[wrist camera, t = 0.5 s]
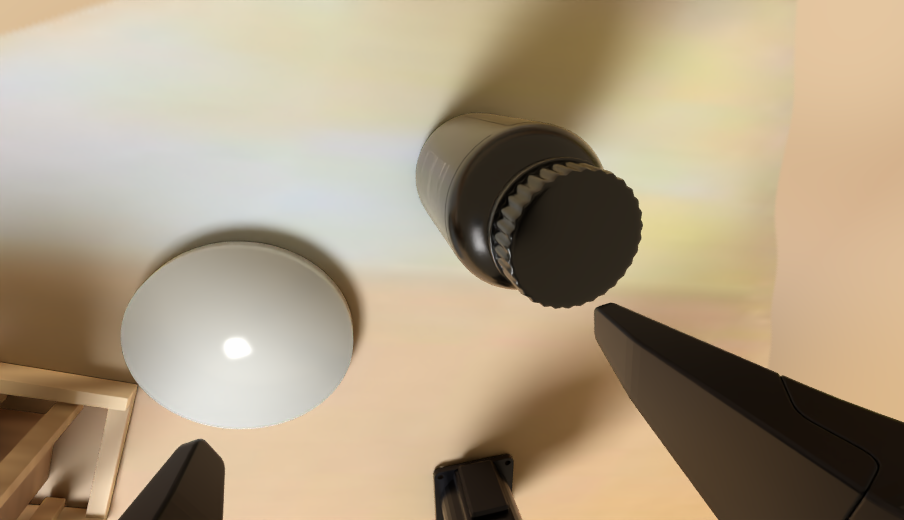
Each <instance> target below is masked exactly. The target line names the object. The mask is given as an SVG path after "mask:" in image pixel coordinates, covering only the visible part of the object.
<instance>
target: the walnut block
mask: <svg viewBox="0 0 904 520" xmlns="http://www.w3.org/2000/svg"><path fill="white" fill-rule="evenodd" d="M44 415H45V414H40V413H32V412H25V411H17V410H10V409H2V408H0V462H1V461H2V460H3V459H4V458H5V457H6V456H7V455H8V454H9V453H10V452H11V451H12V449H13V448H14V447H15V446H16V445H17V444H18V443H19V442H20V441H21V440H22V439H23V438H24V437H25V436H26V434H27V433H28V432H29V431H30V430H31V429H32V428H33V427H34V426H35V425H36V424H37V423H38V422H39V420H40V419H41V418H42V417H43V416H44ZM53 445H54V444H53ZM53 445H52V446H51V448H50V449H49V450H48V451H47V453H46V454H45V455H44V456H43V457H42V459H41V460H40V461H39V462H38V463H37V465H36V466H35V467H34V468H33V469H32V471H31V472H30V473H29V474H28V475H27V477H26V478H25V479H24V480H23V481H22V483H21V484H20V485H19V486H18V487H17V489H16V490H15V491H14V492H13V494H12V495H11V496H10V497H9V498H8V500H7V501H6V502H5V503H4V504H3V506H2V507H1V508H0V520H17V518H18V517H19V516H20V514H21V513H22V512H23V510H24V509H25V508H26V507H27V505H28V504H29V503H30V501H31V500H32V499H33V497H34V496H35V495H36V494H37V492H38V491H39V490H40V488H41V487H42V486H43V485H44V483H45V482H46V481H47V479H48V475H49V469H50V463H51V457H52V451H53Z"/></svg>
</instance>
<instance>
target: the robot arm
mask: <svg viewBox="0 0 904 520" xmlns="http://www.w3.org/2000/svg"><path fill="white" fill-rule="evenodd" d="M594 332H595V337H596V340H597V342H598V344H599V346H600V348H601V349H602V351H603V353H604V355H605V356H606V358H607V360H608V362H609V363H610V365H611V367H612V369H613V370H614V372H615V374H616V375H617V377H618V379H619V381H620V382H621V384H622V386H623V388H624V389H625V391H626V393H627V394H628V396H629V398H630V399H631V401H632V402H633V403H634V405H635V406H636V408H637V409H638V410H639V412H640V413H641V415H642V416H643V417H644V419H645V420H646V421H647V423H648V424H649V425H650V427H651V428H652V430H653V431H654V432H655V434H656V435H657V436H658V438H659V439H660V441H661V442H662V443H663V445H664V446H665V447H666V449H667V450H668V451H669V453H670V454H671V456H672V457H673V458H674V460H675V461H676V462H677V464H678V465H679V467H680V468H681V469H682V471H683V472H684V473H685V475H686V476H687V477H688V479H689V480H690V482H691V483H692V484H693V486H694V487H695V488H696V490H697V491H698V492H699V494H700V495H701V497H702V498H703V499H704V501H705V502H706V503H707V505H708V506H709V508H710V509H711V510H712V512H713V513H714V514H715V516H716V517H717V518H718V520H904V422H901V421H898V420H896V419H893V418H890V417H887V416H885V415H882V414H879V413H876V412H873V411H871V410H868V409H865V408H863V407H860V406H858V405H855V404H852V403H849V402H847V401H844V400H841V399H839V398H836V397H834V396H831V395H829V394H826V393H824V392H822V391H819V390H817V389H814V388H812V387H809V386H807V385H804V384H802V383H800V382H797V381H795V380H793V379H790V378H788V377H786V376H783V375H782V376H780V375H779V374H778V373H776V372H774V371H772V370H769V369H767V368H764V367H762V366H760V365H757V364H755V363H753V362H750V361H748V360H746V359H743V358H741V357H739V356H736V355H734V354H732V353H729V352H727V351H725V350H722V349H720V348H718V347H715V346H713V345H711V344H708V343H706V342H704V341H701V340H699V339H697V338H694V337H692V336H690V335H687V334H685V333H683V332H680V331H678V330H676V329H673V328H671V327H669V326H666V325H664V324H662V323H659V322H657V321H655V320H652V319H650V318H648V317H645V316H643V315H641V314H638V313H636V312H634V311H631V310H629V309H627V308H624V307H622V306H620V305H617V304H615V303H608V304H605V305H602V306H599V307H597V308H596V309H595V311H594ZM513 463H514V461H513V458H512V456H511V455H509V454H505V455H500V456H496V457H491V458H486V459H481V460H477V461H472V462H467V463H462V464H457V465H453V466H448V467H443V468H439V469H436V470H435V471H434V473H433V479H434V498H435V518H436V520H522V518H521V515H520V513H519V510H518V508H517V505H516V503H515V500H514V497H513V495H512V481H513ZM224 480H225V466H224V462H223V460H222V458H221V457H220V456H219V455H218V454H217V453H216V452H215V451H214V449H213V448H212V447H211V446H210V445H209V444H208V443H207V442H206V441H205V440H203V439H197V440H194V441H191V442H188V443H185V444H183V445H181V446H180V447H178V449H177V450H176V451H175V452H174V453H173V454H172V456H171V457H170V458H169V459H168V460H167V462H166V463H165V464H164V465H163V466H162V468H161V469H160V470H159V471H158V472H157V474H156V475H155V476H154V477H153V478H152V480H151V481H150V482H149V483H148V484H147V486H146V487H145V488H144V489H143V490H142V492H141V493H140V494H139V495H138V496H137V498H136V499H135V500H134V501H133V502H132V504H131V505H130V506H129V507H128V508H127V510H126V511H125V512H124V513H123V515H122V516H121V517H120V518H119V519H118V520H223V504H224Z"/></svg>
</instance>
